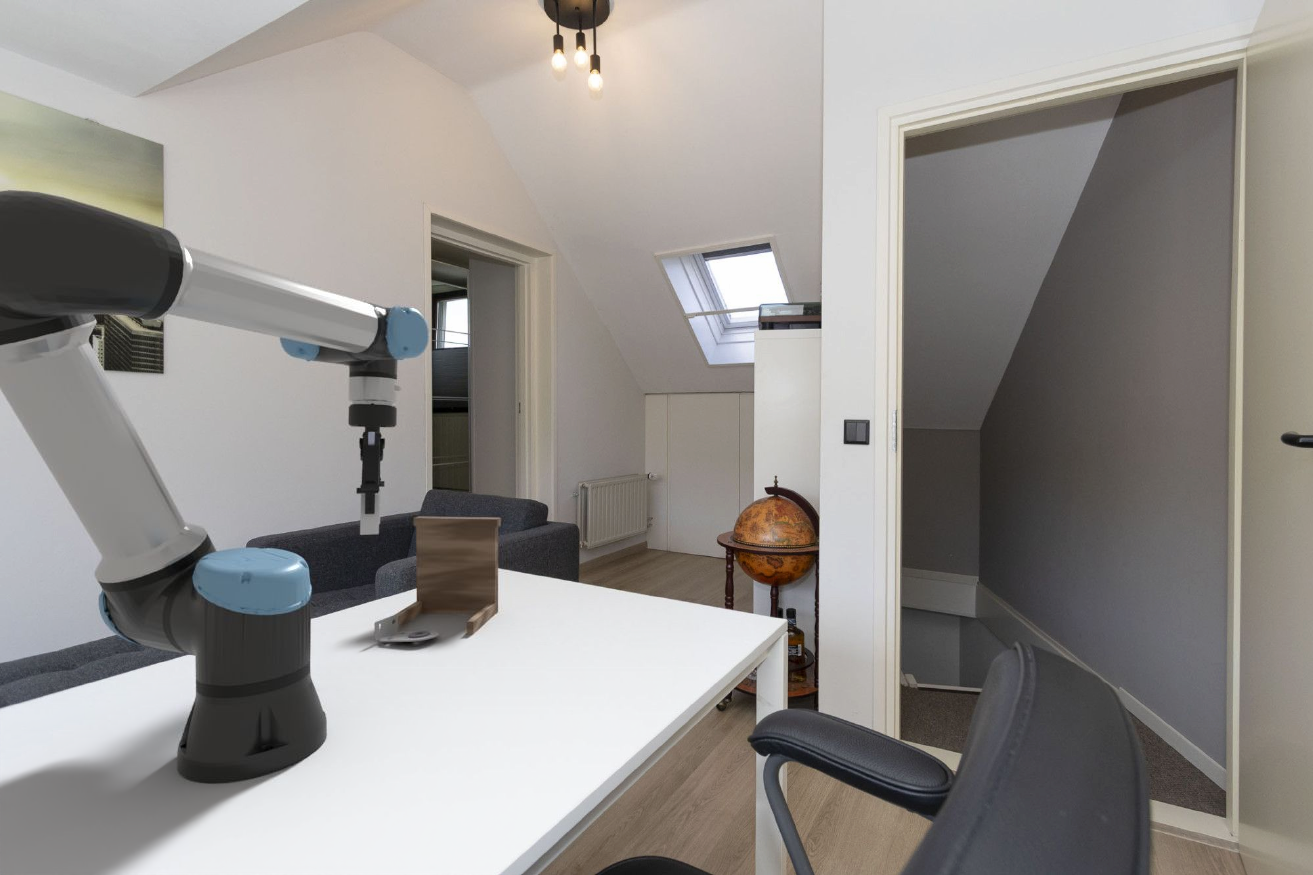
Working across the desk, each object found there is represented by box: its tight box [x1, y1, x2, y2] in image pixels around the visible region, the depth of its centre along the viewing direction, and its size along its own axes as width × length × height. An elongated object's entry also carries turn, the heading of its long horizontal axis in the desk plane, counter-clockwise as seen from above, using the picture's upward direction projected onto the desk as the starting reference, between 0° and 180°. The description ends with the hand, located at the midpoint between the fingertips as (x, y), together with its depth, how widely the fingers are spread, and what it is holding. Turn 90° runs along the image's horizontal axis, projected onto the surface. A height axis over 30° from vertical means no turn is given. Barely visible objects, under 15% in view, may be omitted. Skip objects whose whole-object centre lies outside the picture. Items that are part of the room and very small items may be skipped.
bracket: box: [373, 614, 440, 643], centre depth 116 cm, size 7×10×4 cm, turn 78°
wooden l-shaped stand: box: [392, 515, 502, 636], centre depth 127 cm, size 15×17×20 cm
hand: (370, 528), depth 110 cm, fingers open, 13 cm apart
